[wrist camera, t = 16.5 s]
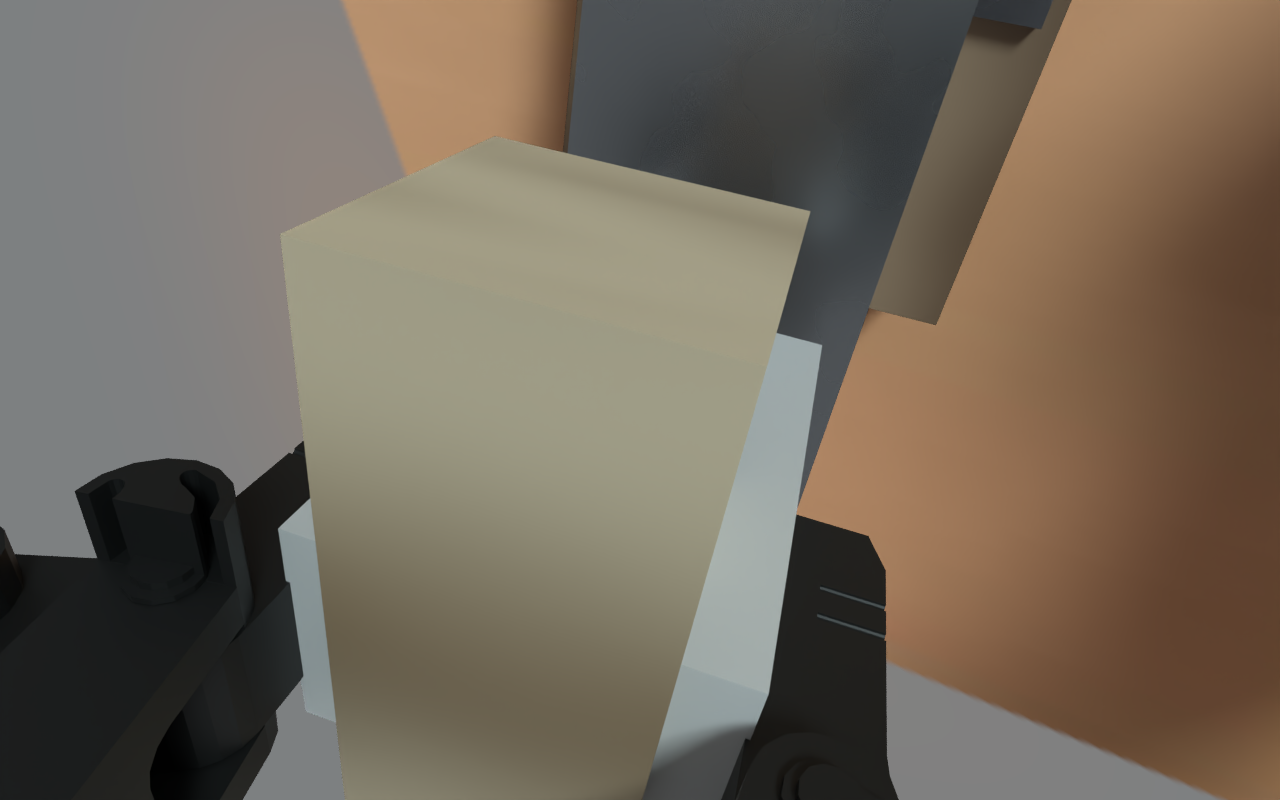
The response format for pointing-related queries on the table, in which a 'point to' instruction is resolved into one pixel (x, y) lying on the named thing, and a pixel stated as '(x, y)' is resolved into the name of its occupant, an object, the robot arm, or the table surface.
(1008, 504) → the table surface
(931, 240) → the flip board
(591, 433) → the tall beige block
